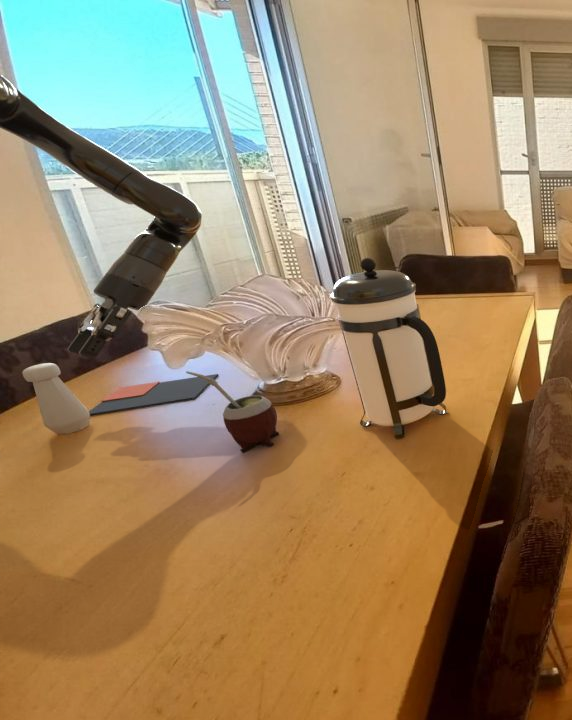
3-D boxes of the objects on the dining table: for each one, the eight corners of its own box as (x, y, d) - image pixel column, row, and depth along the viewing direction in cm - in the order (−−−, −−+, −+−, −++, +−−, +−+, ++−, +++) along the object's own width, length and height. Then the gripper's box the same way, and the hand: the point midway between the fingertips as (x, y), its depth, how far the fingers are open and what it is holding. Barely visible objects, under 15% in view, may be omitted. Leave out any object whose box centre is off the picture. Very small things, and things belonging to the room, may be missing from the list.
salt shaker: (42, 435, 87) (4, 371, 82) (81, 419, 92) (47, 358, 87) (64, 438, 86) (27, 373, 81) (102, 422, 91) (70, 360, 86)
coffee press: (347, 449, 79) (293, 272, 68) (373, 405, 94) (333, 253, 82) (454, 435, 82) (420, 263, 71) (463, 394, 97) (437, 246, 85)
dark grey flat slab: (84, 416, 94) (83, 413, 93) (121, 389, 105) (120, 387, 105) (195, 399, 99) (194, 396, 99) (218, 375, 110) (217, 373, 110)
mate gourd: (293, 436, 84) (266, 358, 78) (247, 460, 77) (213, 377, 71) (266, 428, 87) (237, 353, 81) (219, 452, 80) (184, 371, 74)
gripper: (97, 272, 96) (44, 343, 91) (118, 271, 89) (61, 348, 83) (143, 291, 102) (95, 359, 97) (167, 292, 94) (116, 366, 89)
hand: (80, 354), depth 90 cm, fingers open, 8 cm apart
